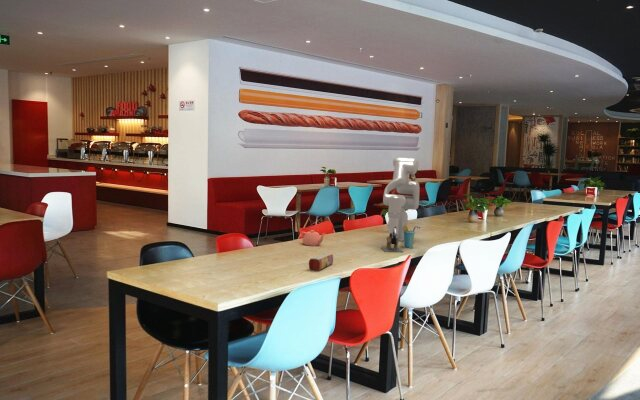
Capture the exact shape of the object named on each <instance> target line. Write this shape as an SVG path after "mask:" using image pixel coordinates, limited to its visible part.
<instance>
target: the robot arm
mask: <svg viewBox="0 0 640 400" xmlns="http://www.w3.org/2000/svg"><path fill="white" fill-rule="evenodd" d="M419 163H420V161H419V159H418V158H415V157H403V156H402V157H401V156H398V157H394V158H393V160H392V164H393V168H394V169H393V174H392V175H393V176H392V180H391V181H390V182H389V183H388V184H387V185H386V186H385V188H384V192H383V196H382V197H383V198H382V199H383V200H382V203H383V205H385V206H387V207H388V214H387V215H388V217H387V218H388V223H387V232H388V233H389V236H388V237H392V238H391V245H393V246H394V245H396V239H397V238H398V242H399V241H400V242H404V232H403V226H405V225H406V226H407V227H408V217H409V216H408V213H407V212H406V210H412V211H413V210H417V209H418V208H419V205H420V183H419V182H418V181H416V180H410V175H415V174H417V171H418V170H419ZM394 189H396V193H398V194H394V193H393V194H390V192H391V191H392V190H394Z"/></svg>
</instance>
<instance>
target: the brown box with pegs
mask: <svg viewBox="0 0 640 400" xmlns="http://www.w3.org/2000/svg"><path fill="white" fill-rule="evenodd" d="M391 238H392V237H389V236H386V248H388V249H391V248H392V244H391ZM398 244H399V241H398V238H397V239H396V245H394V244H393V248H395V249H397V248H399V247H398V246H399V245H398Z"/></svg>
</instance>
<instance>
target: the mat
mask: <svg viewBox="0 0 640 400" xmlns="http://www.w3.org/2000/svg"><path fill="white" fill-rule="evenodd" d="M381 248H382V251H383V252H384V253H385V252H386V253H387V252H388V253H404V250H402V249H401V248H400V247H397V249H395V248H394V247H391V249H388V248H387V247H384V246H383V247H380V249H381Z"/></svg>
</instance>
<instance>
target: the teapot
mask: <svg viewBox="0 0 640 400" xmlns="http://www.w3.org/2000/svg"><path fill="white" fill-rule="evenodd" d="M300 235H301V238H302V244H303V246H308V247H318V246H320V245H321V243H322V242H323V240H324V237H325V235H326V232H323V233H322V234H321V236H320V233H319V232H317V231H315V229H311V230H310V231H307V232H306V231H301V233H300Z"/></svg>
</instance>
